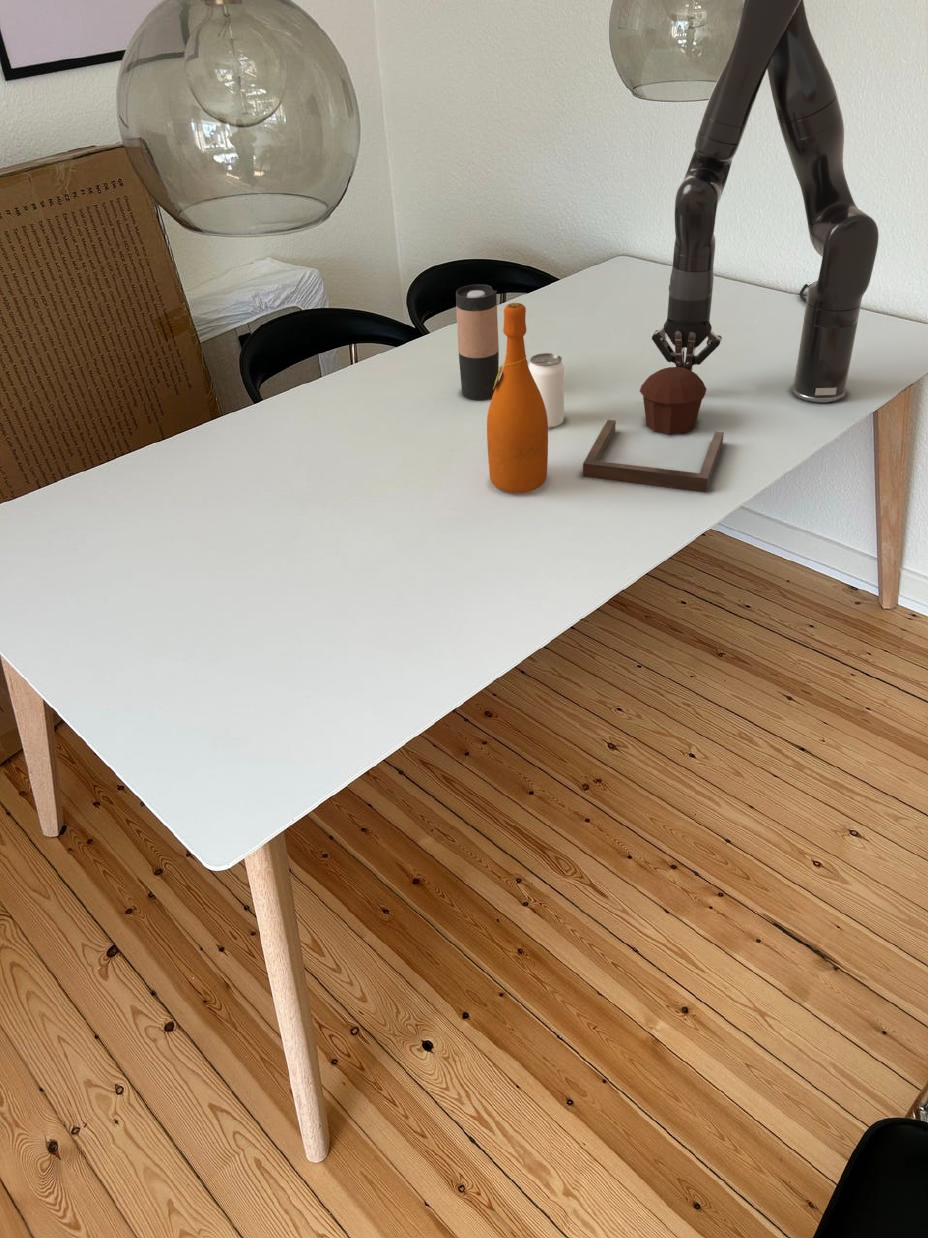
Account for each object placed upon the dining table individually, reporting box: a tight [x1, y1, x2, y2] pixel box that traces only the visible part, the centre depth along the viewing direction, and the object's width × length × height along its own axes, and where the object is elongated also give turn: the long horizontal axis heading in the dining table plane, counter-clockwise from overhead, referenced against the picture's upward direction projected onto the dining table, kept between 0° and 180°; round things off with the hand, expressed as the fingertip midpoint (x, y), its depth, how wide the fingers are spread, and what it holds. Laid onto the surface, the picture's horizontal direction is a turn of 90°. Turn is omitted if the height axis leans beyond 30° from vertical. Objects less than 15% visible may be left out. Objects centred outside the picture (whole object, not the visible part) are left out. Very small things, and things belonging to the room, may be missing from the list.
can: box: [528, 352, 565, 429], centre depth 184 cm, size 6×6×12 cm
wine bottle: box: [486, 302, 549, 494], centre depth 161 cm, size 10×10×30 cm
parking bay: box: [582, 419, 725, 493], centre depth 172 cm, size 17×20×2 cm
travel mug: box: [455, 284, 500, 401], centre depth 193 cm, size 8×8×20 cm
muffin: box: [639, 366, 707, 436], centre depth 181 cm, size 12×11×10 cm
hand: (682, 383), depth 191 cm, fingers closed
